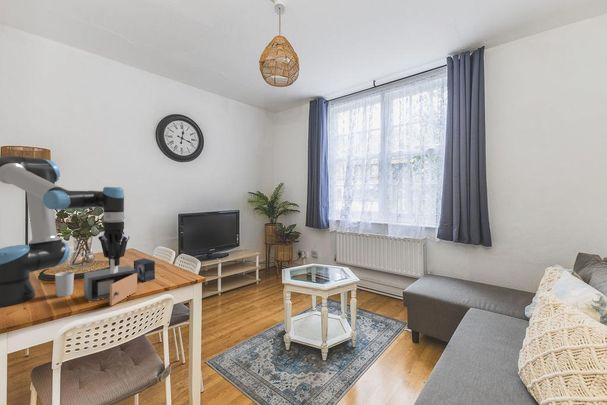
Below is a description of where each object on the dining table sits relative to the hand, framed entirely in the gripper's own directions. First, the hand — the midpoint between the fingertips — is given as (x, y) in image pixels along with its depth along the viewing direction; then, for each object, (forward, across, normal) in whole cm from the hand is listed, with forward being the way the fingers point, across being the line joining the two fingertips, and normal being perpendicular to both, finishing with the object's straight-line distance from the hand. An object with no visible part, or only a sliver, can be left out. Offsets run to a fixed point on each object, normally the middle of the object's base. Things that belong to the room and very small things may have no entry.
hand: (114, 272), depth 117 cm
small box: (+13, -5, +28) cm, 31 cm away
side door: (+12, +4, +2) cm, 13 cm away
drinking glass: (+13, -27, +3) cm, 30 cm away
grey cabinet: (+13, -7, +6) cm, 16 cm away
